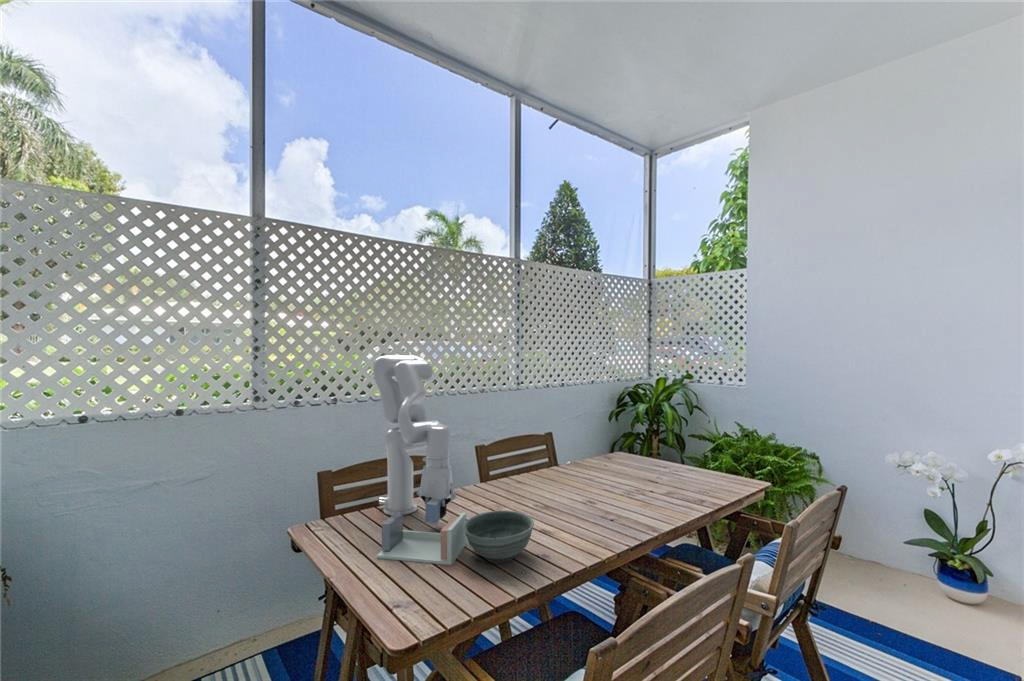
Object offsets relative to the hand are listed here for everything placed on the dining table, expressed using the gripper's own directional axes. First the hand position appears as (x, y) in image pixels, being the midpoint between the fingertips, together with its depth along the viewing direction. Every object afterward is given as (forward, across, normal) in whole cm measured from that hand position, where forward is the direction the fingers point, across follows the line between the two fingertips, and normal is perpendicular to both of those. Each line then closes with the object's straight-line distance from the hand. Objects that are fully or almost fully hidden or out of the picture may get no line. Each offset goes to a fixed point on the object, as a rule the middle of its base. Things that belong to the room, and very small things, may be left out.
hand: (436, 515), depth 149 cm
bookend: (+4, -8, -15) cm, 18 cm away
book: (+1, 0, 0) cm, 1 cm away
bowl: (+4, +25, -14) cm, 29 cm away
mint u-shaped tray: (+5, +2, -15) cm, 16 cm away
